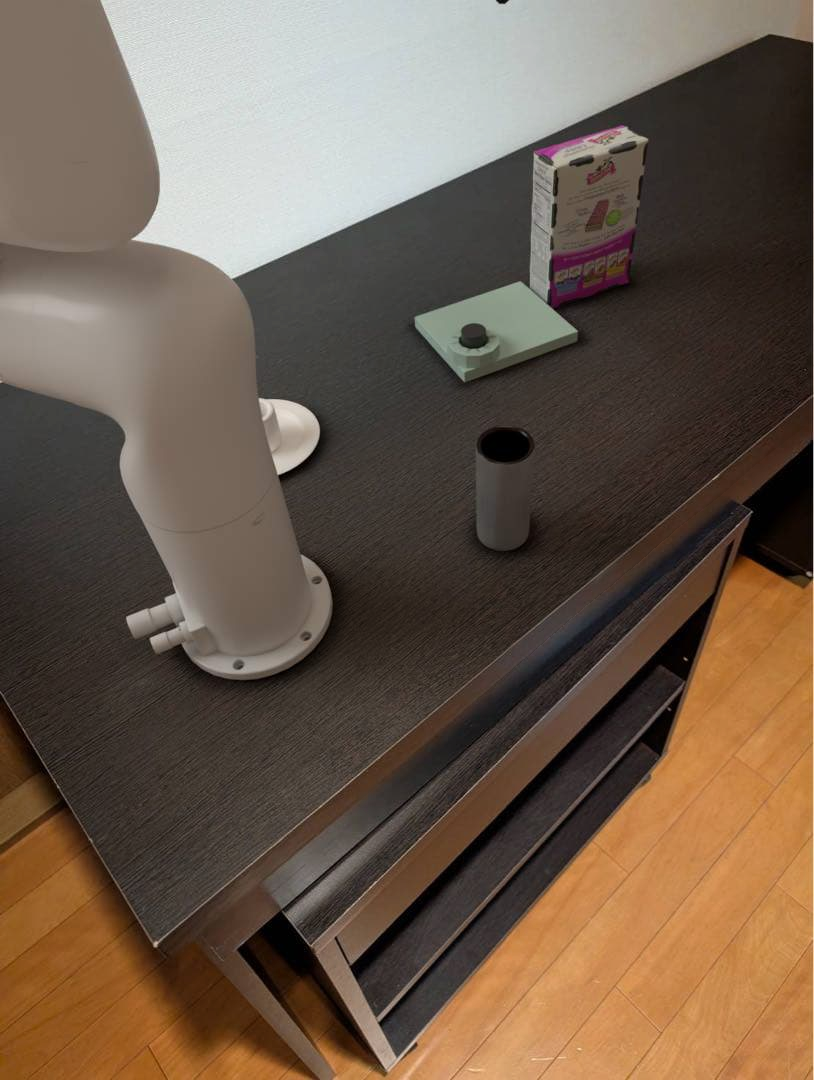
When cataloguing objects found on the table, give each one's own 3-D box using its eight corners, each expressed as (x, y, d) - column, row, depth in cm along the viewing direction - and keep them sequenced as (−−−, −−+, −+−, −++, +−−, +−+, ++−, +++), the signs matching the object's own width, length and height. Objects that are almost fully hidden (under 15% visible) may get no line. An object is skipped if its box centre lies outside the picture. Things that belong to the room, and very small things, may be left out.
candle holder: (189, 428, 79) (176, 394, 76) (298, 391, 81) (290, 358, 78) (219, 502, 71) (206, 468, 68) (338, 459, 74) (331, 425, 71)
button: (468, 352, 79) (468, 340, 78) (457, 340, 81) (456, 327, 80) (490, 345, 80) (490, 332, 79) (478, 332, 81) (478, 320, 80)
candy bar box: (605, 265, 93) (624, 122, 81) (629, 284, 90) (652, 138, 78) (525, 291, 91) (531, 148, 78) (547, 312, 88) (557, 166, 75)
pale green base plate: (463, 385, 80) (462, 361, 78) (412, 328, 88) (411, 304, 85) (578, 343, 83) (581, 319, 81) (520, 291, 91) (521, 268, 89)
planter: (526, 554, 65) (532, 466, 57) (473, 548, 65) (471, 461, 58) (531, 515, 67) (537, 426, 60) (480, 510, 68) (480, 422, 60)
